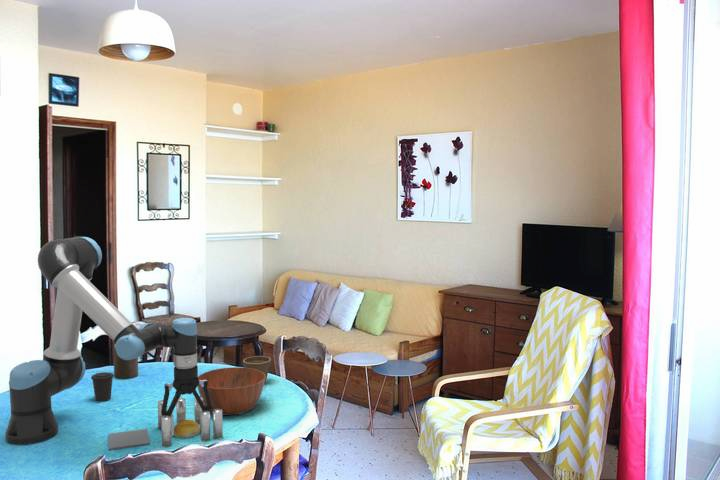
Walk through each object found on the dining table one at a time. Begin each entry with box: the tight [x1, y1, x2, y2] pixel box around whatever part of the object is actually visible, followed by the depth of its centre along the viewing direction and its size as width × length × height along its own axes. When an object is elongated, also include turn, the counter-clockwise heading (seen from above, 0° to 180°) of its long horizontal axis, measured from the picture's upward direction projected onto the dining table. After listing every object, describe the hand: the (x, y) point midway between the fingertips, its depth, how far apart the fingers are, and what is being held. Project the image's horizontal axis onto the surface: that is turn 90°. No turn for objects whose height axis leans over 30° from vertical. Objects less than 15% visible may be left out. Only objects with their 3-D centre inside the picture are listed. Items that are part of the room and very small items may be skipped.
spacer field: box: [157, 395, 224, 448], centre depth 202 cm, size 19×18×9 cm
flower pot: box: [242, 355, 272, 385], centre depth 253 cm, size 12×11×10 cm
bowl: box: [197, 366, 265, 416], centre depth 225 cm, size 25×25×11 cm
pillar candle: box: [113, 343, 139, 380], centre depth 261 cm, size 10×10×15 cm
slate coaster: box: [108, 428, 150, 451], centre depth 196 cm, size 12×12×1 cm
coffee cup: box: [90, 371, 114, 403], centre depth 233 cm, size 8×8×10 cm
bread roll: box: [174, 419, 201, 439], centre depth 202 cm, size 8×9×4 cm
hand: (187, 432), depth 202 cm, fingers open, 9 cm apart
